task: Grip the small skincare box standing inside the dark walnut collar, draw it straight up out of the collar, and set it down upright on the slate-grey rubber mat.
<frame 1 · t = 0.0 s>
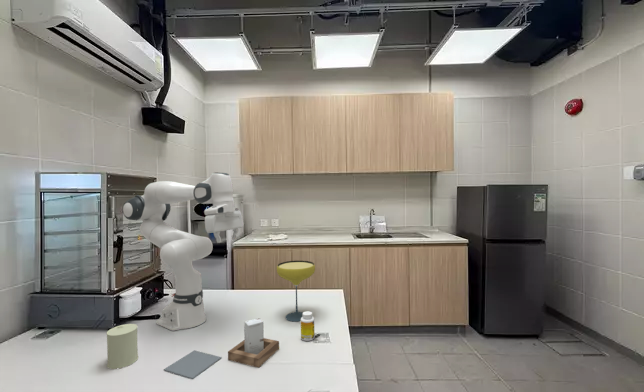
hand: (227, 240, 128), 39 cm above the counter, tool pointing down, fingers open, 8 cm apart
walnut collar: (254, 354, 108), on the counter
supplement bottle: (307, 338, 120), on the counter
slate mat: (193, 364, 102), on the counter
skincare box: (254, 354, 108), resting in walnut collar
cocktail glass: (296, 317, 141), on the counter
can: (123, 362, 105), on the counter
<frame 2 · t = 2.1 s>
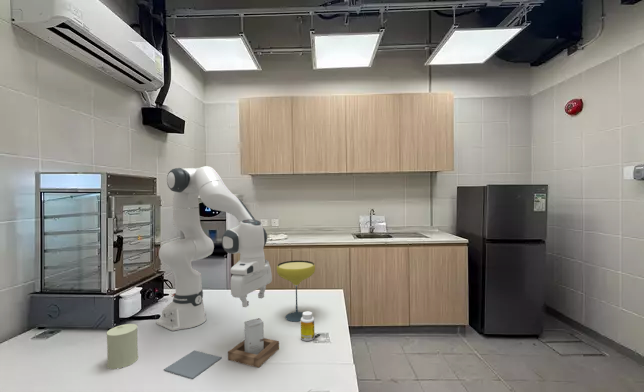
hand: (253, 301, 108), 19 cm above the counter, tool pointing down, fingers open, 8 cm apart
nothing on the counter moved.
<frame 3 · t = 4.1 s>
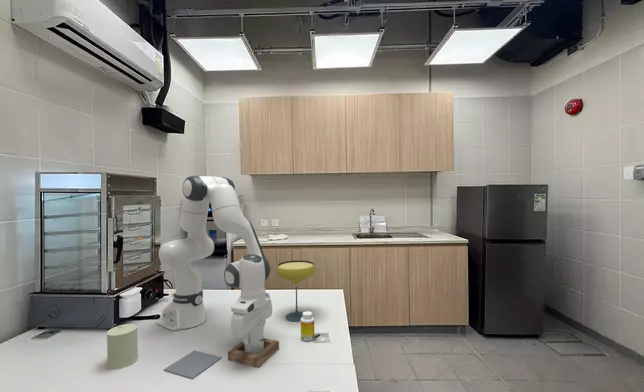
hand: (254, 337, 108), 6 cm above the counter, tool pointing down, fingers closed on skincare box, 7 cm apart
skincare box: (254, 354, 108), resting in walnut collar, touching gripper
everything else where it was.
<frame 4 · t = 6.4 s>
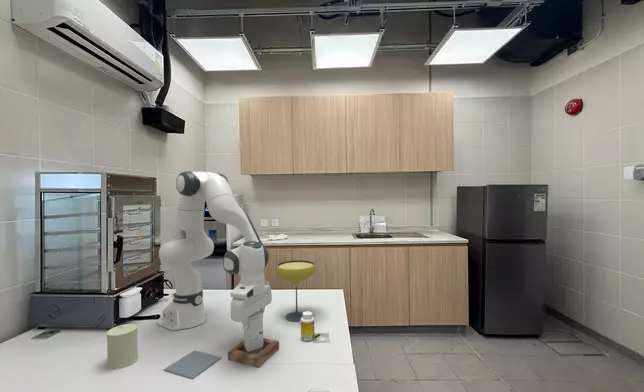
hand: (253, 323, 108), 11 cm above the counter, tool pointing down, fingers closed on skincare box, 7 cm apart
skincare box: (254, 347, 108), point 2 cm above the counter, touching gripper
everything else where it was.
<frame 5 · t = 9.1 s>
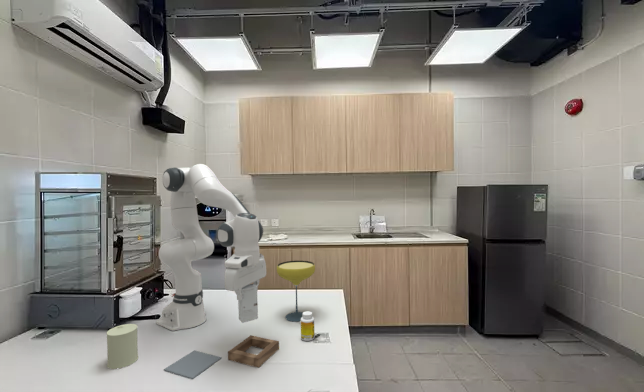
hand: (247, 295, 108), 22 cm above the counter, tool pointing down, fingers closed on skincare box, 7 cm apart
skincare box: (248, 319, 108), point 13 cm above the counter, touching gripper
everything else where it was.
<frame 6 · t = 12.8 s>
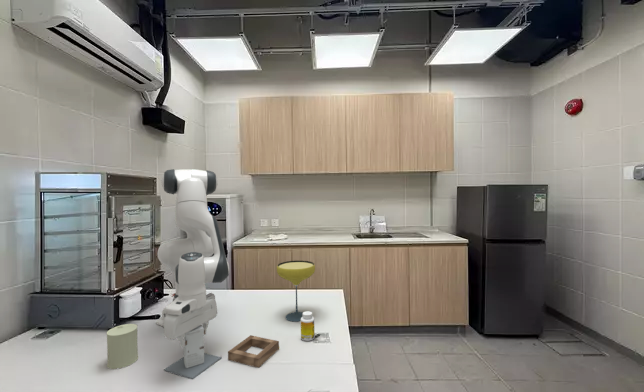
hand: (193, 340, 102), 8 cm above the counter, tool pointing down, fingers open, 7 cm apart
skincare box: (194, 363, 102), resting on slate mat, touching gripper
everything else where it was.
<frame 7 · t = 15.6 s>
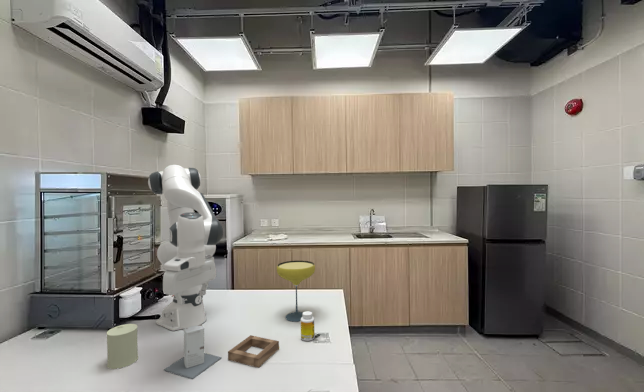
hand: (192, 299, 102), 22 cm above the counter, tool pointing down, fingers open, 8 cm apart
skincare box: (194, 363, 102), resting on slate mat
everything else where it was.
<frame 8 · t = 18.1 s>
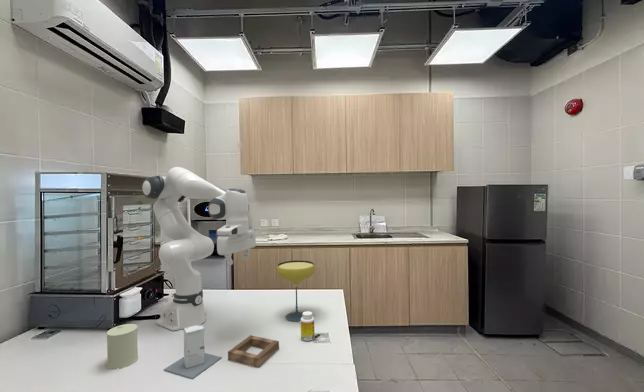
hand: (238, 262, 120), 31 cm above the counter, tool pointing down, fingers open, 8 cm apart
nothing on the counter moved.
at the end: skincare box inside the target area on the slate mat (0.4 cm from its centre), point 0.2 cm above the slate mat's base; skincare box tilted 0°; the gripper is holding nothing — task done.
